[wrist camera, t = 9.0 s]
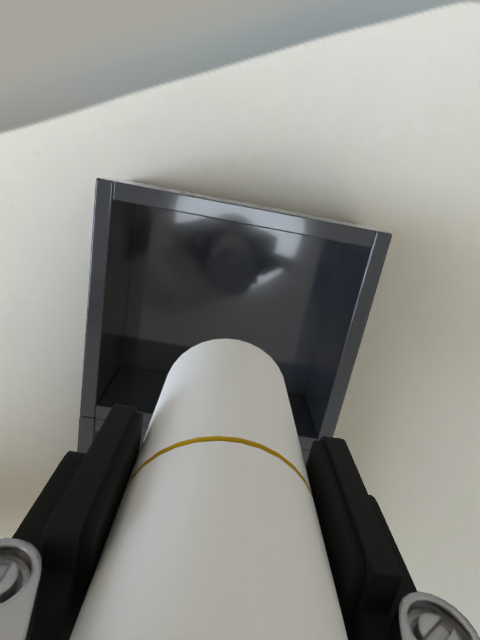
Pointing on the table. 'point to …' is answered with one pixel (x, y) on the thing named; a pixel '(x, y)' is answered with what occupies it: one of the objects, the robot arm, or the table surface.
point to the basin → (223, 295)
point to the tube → (216, 516)
